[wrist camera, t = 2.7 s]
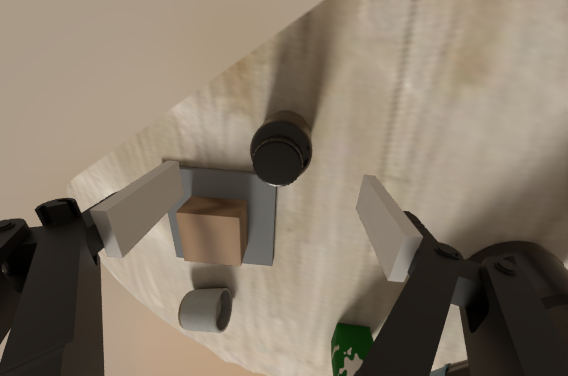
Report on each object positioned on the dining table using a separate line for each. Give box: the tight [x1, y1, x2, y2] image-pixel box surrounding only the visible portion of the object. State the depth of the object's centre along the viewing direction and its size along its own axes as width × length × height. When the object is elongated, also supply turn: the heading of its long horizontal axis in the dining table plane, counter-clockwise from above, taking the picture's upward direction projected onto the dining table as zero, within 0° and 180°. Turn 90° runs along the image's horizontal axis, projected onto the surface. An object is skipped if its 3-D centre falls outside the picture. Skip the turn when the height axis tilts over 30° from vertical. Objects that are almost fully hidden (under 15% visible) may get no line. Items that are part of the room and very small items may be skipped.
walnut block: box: [176, 196, 248, 266], centre depth 35 cm, size 9×9×5 cm
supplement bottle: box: [250, 111, 312, 187], centre depth 26 cm, size 7×7×12 cm
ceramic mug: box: [178, 288, 232, 333], centre depth 44 cm, size 11×8×8 cm
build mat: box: [168, 166, 276, 266], centre depth 38 cm, size 18×18×1 cm
